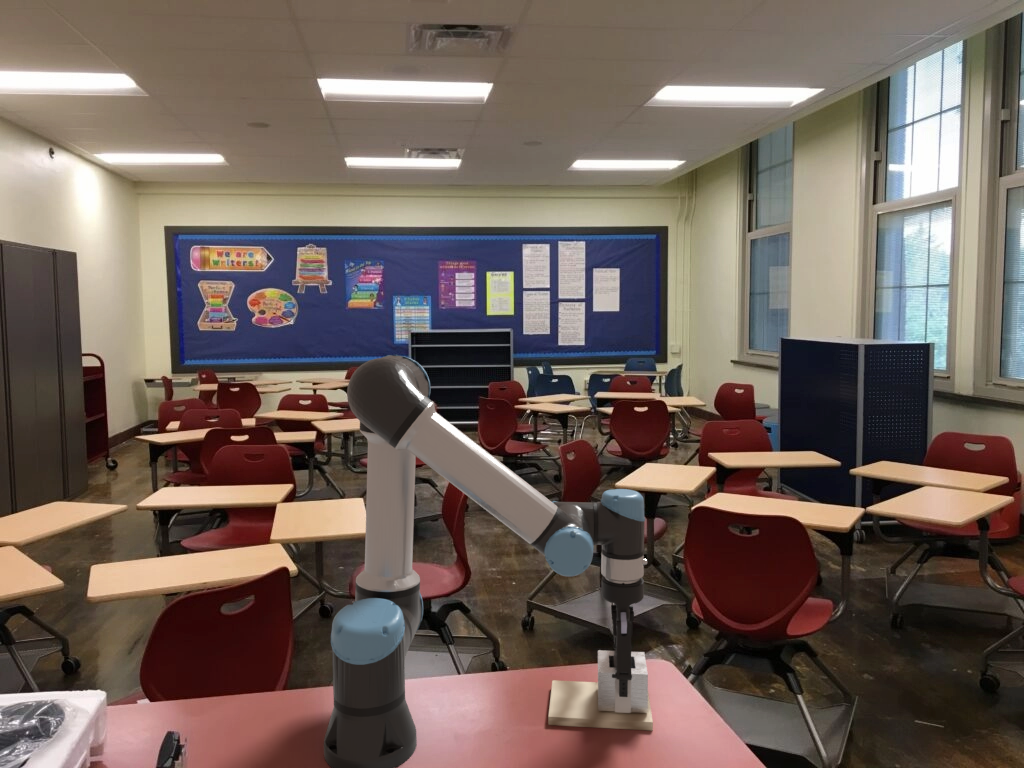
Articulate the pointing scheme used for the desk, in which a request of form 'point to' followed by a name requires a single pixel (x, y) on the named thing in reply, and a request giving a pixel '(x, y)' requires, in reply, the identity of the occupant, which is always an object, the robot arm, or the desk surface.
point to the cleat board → (590, 708)
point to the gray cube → (608, 683)
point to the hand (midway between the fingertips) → (621, 697)
